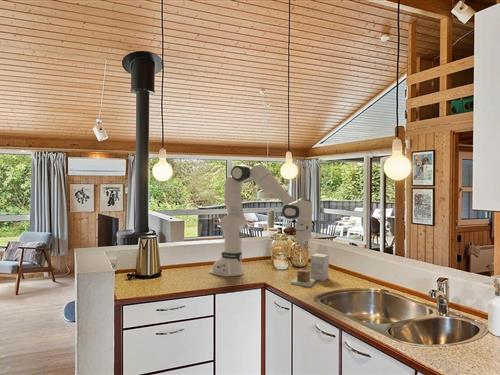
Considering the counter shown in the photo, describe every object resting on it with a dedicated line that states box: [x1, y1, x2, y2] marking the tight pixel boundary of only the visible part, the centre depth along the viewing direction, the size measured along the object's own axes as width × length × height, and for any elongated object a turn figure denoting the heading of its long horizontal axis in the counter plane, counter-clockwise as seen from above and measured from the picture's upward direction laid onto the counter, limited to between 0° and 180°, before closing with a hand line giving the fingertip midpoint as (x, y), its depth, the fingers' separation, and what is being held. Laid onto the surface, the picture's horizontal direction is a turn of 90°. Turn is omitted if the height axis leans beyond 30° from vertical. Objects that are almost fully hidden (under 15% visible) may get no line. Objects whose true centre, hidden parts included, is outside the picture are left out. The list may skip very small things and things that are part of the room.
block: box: [296, 268, 311, 282], centre depth 238 cm, size 6×6×6 cm
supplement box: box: [310, 253, 329, 282], centre depth 249 cm, size 9×9×15 cm
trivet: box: [290, 276, 317, 288], centre depth 238 cm, size 12×12×2 cm
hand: (303, 248), depth 238 cm, fingers open, 8 cm apart
